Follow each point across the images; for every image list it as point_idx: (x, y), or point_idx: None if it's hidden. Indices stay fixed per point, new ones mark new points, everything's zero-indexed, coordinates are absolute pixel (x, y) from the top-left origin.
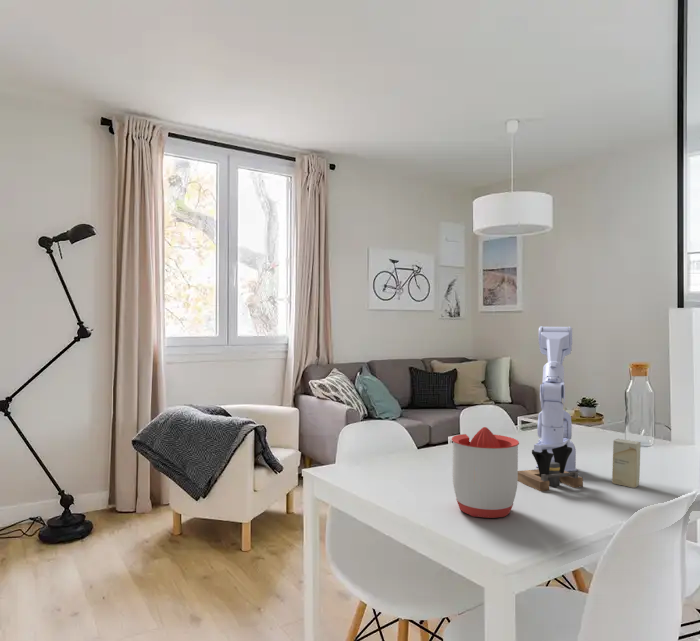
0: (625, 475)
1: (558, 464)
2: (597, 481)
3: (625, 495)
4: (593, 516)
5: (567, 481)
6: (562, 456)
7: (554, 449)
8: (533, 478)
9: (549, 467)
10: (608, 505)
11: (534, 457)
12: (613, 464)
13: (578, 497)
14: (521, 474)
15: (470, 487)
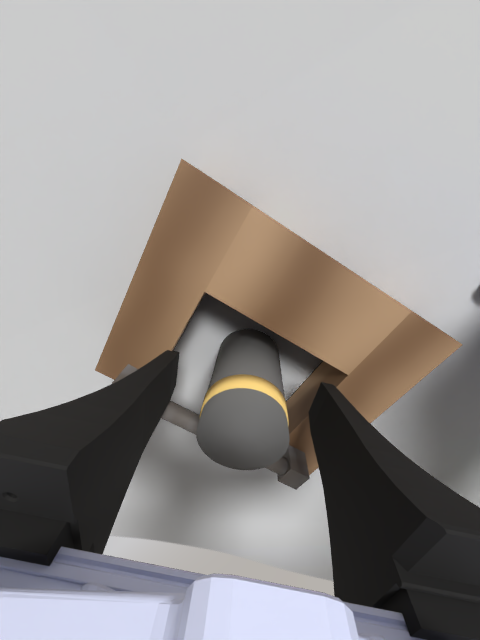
0: None
1: (239, 467)
2: (421, 459)
3: (288, 526)
4: None
5: (291, 409)
6: (338, 513)
7: (393, 524)
8: (119, 327)
9: (146, 439)
10: (160, 510)
11: (56, 407)
12: None
13: (165, 452)
14: (153, 230)
15: None
